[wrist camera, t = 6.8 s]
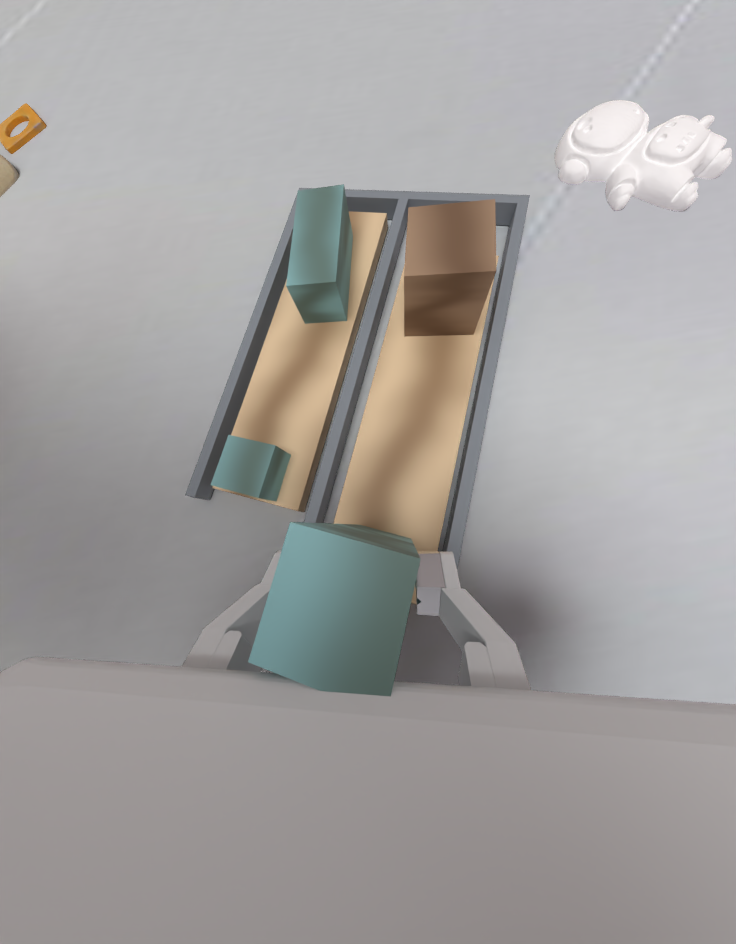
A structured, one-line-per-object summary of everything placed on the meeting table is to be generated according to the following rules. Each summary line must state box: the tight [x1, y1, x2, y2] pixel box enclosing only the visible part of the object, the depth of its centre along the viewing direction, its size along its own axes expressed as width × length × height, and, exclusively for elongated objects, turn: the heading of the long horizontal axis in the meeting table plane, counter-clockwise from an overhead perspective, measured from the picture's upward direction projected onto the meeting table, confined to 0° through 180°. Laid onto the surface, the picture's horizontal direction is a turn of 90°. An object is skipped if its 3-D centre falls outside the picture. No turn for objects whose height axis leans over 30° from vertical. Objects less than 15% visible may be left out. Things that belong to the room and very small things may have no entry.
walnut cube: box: [404, 199, 496, 337], centre depth 18 cm, size 5×5×5 cm
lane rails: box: [185, 188, 530, 568], centre depth 21 cm, size 20×29×2 cm
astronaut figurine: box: [554, 100, 732, 211], centre depth 21 cm, size 9×12×3 cm
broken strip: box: [211, 184, 388, 512], centre depth 20 cm, size 7×26×5 cm, turn 166°
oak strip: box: [248, 256, 499, 696], centre depth 14 cm, size 7×26×12 cm, turn 165°
